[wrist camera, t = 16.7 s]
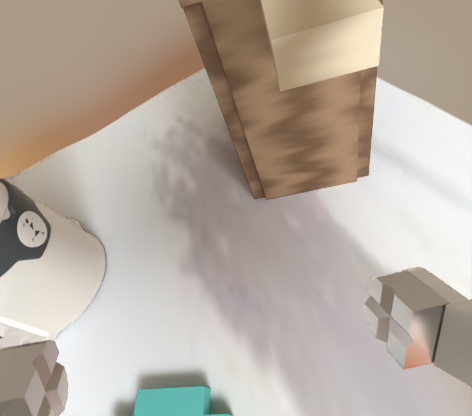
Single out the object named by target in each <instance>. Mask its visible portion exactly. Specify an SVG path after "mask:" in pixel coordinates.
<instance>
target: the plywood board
mask: <svg viewBox="0 0 472 416" xmlns="http://www.w3.org/2000/svg"><path fill="white" fill-rule="evenodd" d="M260 3H261V8H262V12H263V17H264V21H265V26H266V30H267V35H268V39H269V43H270V48H271V52H272V57H273V61H274V66H275V70H276V75H277V79H278V84H279V88H280V91H284V90H288V89H292V88H296V87H299V86H303V85H307V84H311V83H315V82H319V81H322V80H326V79H330V78H334V77H338V76H341V75H345V74H349V73H353V72H357V71H360V70H364V69H368V68H372V67H376V66H378V65H379V55H380V43H381V31H382V19H383V6H382V4H381V3H380V2H379V0H260Z"/></svg>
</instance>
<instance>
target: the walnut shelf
mask: <svg viewBox="0 0 472 416" xmlns="http://www.w3.org/2000/svg"><path fill="white" fill-rule="evenodd" d="M379 2H380V3H381V4H382V3H383V0H379ZM179 3H180V5H181V7H183V9H184V12H185V14H186V17H187V20H188V22H189V25H190V28H191V31H192V33H193V36H194V39H195V41H196V44H197V46H198V49H199V52H200V54H201V57H202V60H203V63H204V65H205V68H206V71H207V73H208V76H209V79H210V81H211V84H212V87H213V89H214V92H215V95H216V97H217V100H218V103H219V105H220V108H221V111H222V113H223V116H224V119H225V121H226V124H227V127H228V129H229V132H230V135H231V137H232V140H233V143H234V145H235V148H236V151H237V153H238V156H239V159H240V161H241V164H242V167H243V169H244V172H245V175H246V177H247V180H248V183H249V185H250V188H251V191H252V193H253V196H254V199H257V198H262V197H266V199H267V200H268V199H273V198H278V197H283V196H287V195H292V194H297V193H302V192H307V191H312V190H316V189H321V188H326V187H331V186H336V185H341V184H345V183H350V182H355V181H357V178H358V177H363V176H368V175H369V162H370V150H371V138H372V125H373V113H374V101H375V89H376V76H377V66H376V67H372V68H368V69H364V70H360V71H357V72H353V73H349V74H345V75H341V76H338V77H334V78H330V79H326V80H322V81H319V82H315V83H311V84H307V85H303V86H299V87H296V88H292V89H288V90H284V91H280V88H279V84H278V79H277V75H276V70H275V66H274V61H273V57H272V52H271V48H270V43H269V39H268V35H267V30H266V26H265V21H264V17H263V12H262V8H261V3H260V0H179Z"/></svg>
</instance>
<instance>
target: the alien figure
mask: <svg viewBox="0 0 472 416" xmlns="http://www.w3.org/2000/svg"><path fill="white" fill-rule="evenodd" d="M210 390H211V389H210V388H208V387H205V386H196V387H178V388H160V389H142V390H137V395H136V402H135V409H134V416H233V415H230V414H214V415H210Z"/></svg>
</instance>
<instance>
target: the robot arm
mask: <svg viewBox="0 0 472 416" xmlns="http://www.w3.org/2000/svg"><path fill="white" fill-rule="evenodd" d="M22 192H23V191H21V190H20V189H19V188H17V187H16V186H14V185H11V184H10V183H9V182H7V181H5V180H3V179H0V416H59V415H60V414H61V413H62V412H63V411H64V409H65V405H66V401H67V393H68V381H67V374H66V371H65V368H64V366H62V365H60V364H59V363H57V362H56V360H57V357H58V354H59V351H58V348H57V346H56V343H55V341H54V339H55V338H56V336H57V335H58V334H59V333H60V332H61V331H62V330H63V329H65V328H66V327H67V326H68V325H70V324H71V323H72V322H73V321H75V320H76V319H77V318H78V317H79V316H80V315H81V314H82V313H83V312H84V311H85V309H86V308H87V307H88V306H89V304H90V303H91V302H92V300H93V299H94V297H95V295H96V293H97V292H98V290H99V288H100V285H101V283H102V280H103V277H104V273H105V267H106V256H105V251H104V248H103V246H102V244H101V243H100V241H99V240H98V239H97V238H96V237H94V236H93V235H91V234H89V233H87V232H85V231H84V230H83V229H82V227H81V225H80V223H79V222H78V221H77V220H76V219H74V218H72V217H67V218H64V217H63V216H61V215H60V214H58V213H57V212H55V211H53V210H52V209H50V208H49V207H47V206H45V205H44V204H42V203H40V202H39V201H37V200H35V199H33V198H29V197H28V196H26V195H25V194H24V193H22ZM366 291H367V292H368V294H369V295H370V297H369V298H368V300H367V301H366V303H365V308H364V315H365V319H366V323H367V325H368V327H369V329H370V331H371V332H372V333H373V334H374V336H375V337H376V338H378V339H380V340H382V341H384V342H386V343H387V351H388V352H389V353H390V355H391V356H392V357H393V358H394V359H395V361H396V362H397V363H398V364H399V365H400V366H401V368H402V369H403V370H404V369H409V368H413V367H418V366H422V365H427V364H431V363H434V365H435V366H436V367H438V368H440V369H442V370H443V371H445V372H447V373H449V374H450V375H452V376H454V377H456V378H457V379H459V380H461V381H463V382H464V383H466V384H468V385H469V386H471V387H472V299H471V300H468V299H467V298H465V297H464V296H463V295H461V294H460V293H458V292H457V291H456V290H454V289H453V288H451V287H450V286H449V285H447V284H446V283H444V282H443V281H442V280H440V279H439V278H437V277H436V276H434V275H433V274H432V273H430V272H429V271H427V270H426V269H424V268H421V267H416V268H411V269H407V270H403V271H400V272H395V273H390V274H385V275H380V276H375V277H370V278H369V280H368V282H367V286H366Z"/></svg>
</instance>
